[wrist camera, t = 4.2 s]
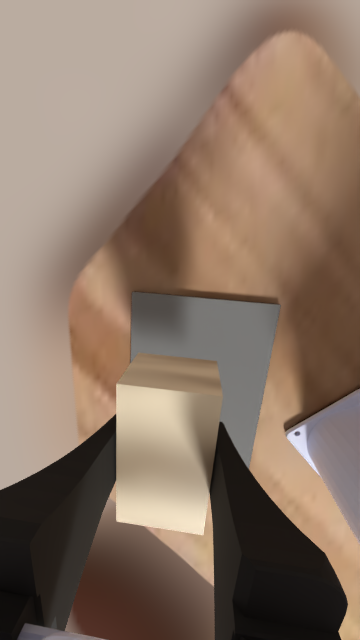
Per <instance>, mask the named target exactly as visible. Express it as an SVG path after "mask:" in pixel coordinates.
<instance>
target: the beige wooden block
mask: <svg viewBox="0 0 360 640" xmlns="http://www.w3.org/2000/svg"><path fill="white" fill-rule="evenodd" d="M222 400H223V394H222V388H221V382H220V377H219V371H218V365H217V361H212V360H203V359H194V358H184V357H175V356H165V355H156V354H147V353H138V354H137V355H136V357H135V358H134V359H133V361H132V362H131V364H130V365H129V367H128V368H127V370H126V371H125V372H124V374H123V375H122V377H121V378H120V380H119V381H118V382H117V384H116V521H118V522H124V523H131V524H136V525H143V526H149V527H155V528H162V529H168V530H174V531H180V532H187V533H193V534H199V535H203V533H204V526H205V519H206V512H207V505H208V498H209V491H210V484H211V477H212V470H213V463H214V456H215V449H216V442H217V435H218V428H219V421H220V414H221V407H222Z"/></svg>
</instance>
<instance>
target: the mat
mask: <svg viewBox="0 0 360 640" xmlns="http://www.w3.org/2000/svg"><path fill="white" fill-rule="evenodd" d="M280 307H281V305H279V304H270V303H259V302H247V301H236V300H224V299H213V298H202V297H190V296H179V295H167V294H156V293H144V292H132V319H131V362H132V361H133V359H134V358H135V357H136V355H137V354H138V353H147V354H156V355H165V356H175V357H184V358H194V359H203V360H212V361H217V365H218V371H219V377H220V382H221V388H222V394H223V400H222V407H221V414H220V421H219V422H223V423H224V425H225V428H226V430H227V432H228V434H229V436H230V438H231V440H232V442H233V444H234V446H235V447H236V449H237V451H238V453H239V454H240V456H241V458H242V459H243V461H244V463H245V464H246V466H247V467H248V469H249V465H250V460H251V455H252V450H253V445H254V439H255V434H256V429H257V424H258V419H259V414H260V409H261V404H262V399H263V393H264V388H265V383H266V378H267V373H268V368H269V363H270V358H271V353H272V347H273V342H274V337H275V332H276V327H277V322H278V317H279V312H280ZM209 492H210V491H209Z"/></svg>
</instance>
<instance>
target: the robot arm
mask: <svg viewBox="0 0 360 640" xmlns="http://www.w3.org/2000/svg"><path fill="white" fill-rule="evenodd" d="M296 431H298V432H297V433H295V432H296ZM285 435H286V437H287V439H288V440H289V441H290V442H291V443H292V445H293V446H294V447H295V448H296V449H297V450H298V451H299V453H300V454H301V455H302V456H303V457H304V458H305V460H306V461H307V462H308V463H309V464H310V465H311V467H312V468H313V469H314V470H315V471H316V472H317V473H318V475H319V476H320V477H321V478H322V479H323V481H324V483H325V485H326V487H327V488H328V490H329V492H330V494H331V495H332V497H333V499H334V501H335V502H336V504H337V506H338V508H339V509H340V511H341V513H342V515H343V516H344V518H345V520H346V522H347V523H348V525H349V527H350V529H351V530H352V532H353V534H354V536H355V537H356V539H357V541H358V543H359V544H360V388H359V389H358V390H356V391H354V392H353V393H351V394H349V395H347V396H346V397H344V398H342V399H340V400H339V401H337V402H335V403H334V404H332V405H330V406H328V407H327V408H325V409H323V410H321V411H320V412H318V413H316V414H315V415H313V416H311V417H309V418H308V419H306V420H304V421H302V422H301V423H299V424H297V425H295V426H294V427H292V428H290V429H289V430H287V431H286V433H285ZM115 481H116V415H114V416H113V417H112V418H111V419H110V420H109V421H108V422H107V423H106V424H105V425H104V426H102V427H101V428H100V429H99V430H98V431H97V432H96V433H94V434H93V435H92V436H91V437H89V438H88V439H87V440H86V441H84V442H83V443H82V444H81V445H79V446H78V447H77V448H75V449H74V450H73V451H71V452H70V453H68V454H67V455H65V456H64V457H62V458H61V459H59V460H58V461H56V462H54V463H52V464H51V465H49V466H47V467H46V468H44V469H42V470H41V471H39V472H37V473H35V474H33V475H31V476H30V477H27V478H26V479H23V480H21V481H19V482H18V483H15V484H13V485H11V486H9V487H7V488H4V489H2V490H0V640H106V639H101V638H96V637H91V636H86V635H81V634H76V633H71V632H67V631H65V628H66V625H67V621H68V618H69V615H70V611H71V608H72V604H73V601H74V598H75V595H76V591H77V588H78V585H79V582H80V579H81V575H82V572H83V569H84V566H85V563H86V560H87V557H88V554H89V551H90V548H91V545H92V542H93V538H94V536H95V533H96V530H97V527H98V524H99V521H100V518H101V515H102V512H103V510H104V507H105V505H106V502H107V500H108V497H109V495H110V493H111V491H112V488H113V486H114V484H115ZM210 500H211V510H212V521H213V545H214V601H215V602H214V603H215V640H341V638H340V635H339V632H338V631H339V628H340V626H341V624H342V621H343V619H344V617H345V614H346V611H347V606H348V603H347V598H346V595H345V593H344V591H343V588H342V586H341V584H340V581H339V579H338V577H337V575H336V573H335V571H334V569H333V567H332V566H331V564H330V562H329V560H328V558H327V556H326V554H325V553H324V552H323V551H322V550H321V549H320V548H319V547H317V546H316V545H315V544H314V543H313V542H312V541H311V540H310V539H309V538H308V537H307V536H306V535H304V534H303V533H302V532H301V531H300V530H299V529H298V528H297V527H296V526H295V525H294V524H293V523H292V522H291V521H290V520H289V519H288V518H287V517H286V515H285V514H284V513H283V512H282V511H281V510H280V509H279V508H278V506H277V505H276V504H275V503H274V502H273V501H272V500H271V498H270V497H269V496H268V495H267V493H266V492H265V491H264V490H263V488H262V487H261V486H260V484H259V483H258V482H257V480H256V479H255V478H254V476H253V475H252V473H251V472H250V470H249V469H248V467H247V466H246V464H245V463H244V461H243V459H242V458H241V456H240V454H239V453H238V451H237V449H236V447H235V446H234V444H233V442H232V440H231V438H230V436H229V434H228V432H227V430H226V428H225V425H224V423H223V422H219V428H218V435H217V442H216V449H215V456H214V463H213V470H212V477H211V484H210Z"/></svg>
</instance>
